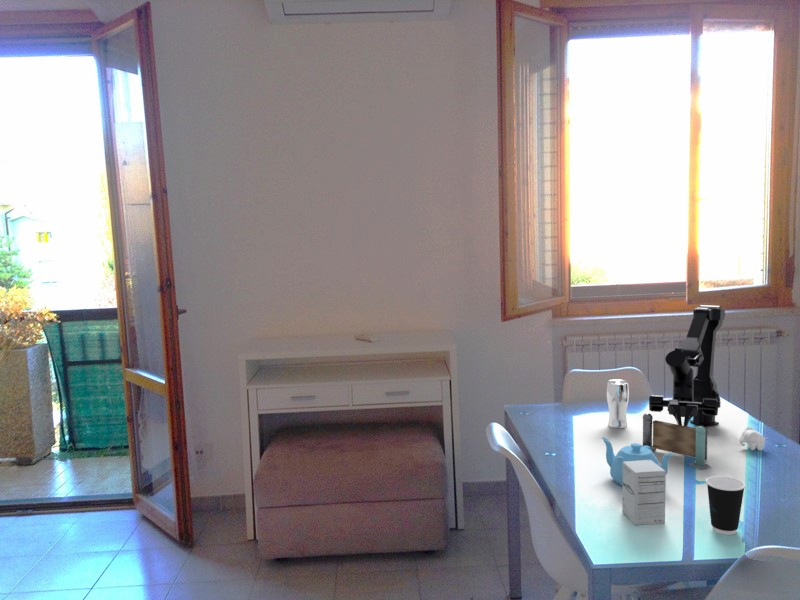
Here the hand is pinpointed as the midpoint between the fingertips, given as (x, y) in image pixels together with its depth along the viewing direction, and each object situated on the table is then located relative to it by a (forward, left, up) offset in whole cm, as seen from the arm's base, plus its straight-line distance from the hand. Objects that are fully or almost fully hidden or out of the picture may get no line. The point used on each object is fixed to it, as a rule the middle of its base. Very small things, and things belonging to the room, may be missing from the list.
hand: (682, 431), depth 197 cm
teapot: (+26, +9, -8) cm, 29 cm away
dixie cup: (+28, +39, -8) cm, 49 cm away
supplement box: (+39, +26, -8) cm, 48 cm away
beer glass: (-4, -31, -8) cm, 32 cm away
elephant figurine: (-22, +6, -8) cm, 24 cm away
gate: (+1, 0, -7) cm, 7 cm away
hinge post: (+4, -9, -7) cm, 12 cm away
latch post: (+2, +8, -7) cm, 11 cm away
